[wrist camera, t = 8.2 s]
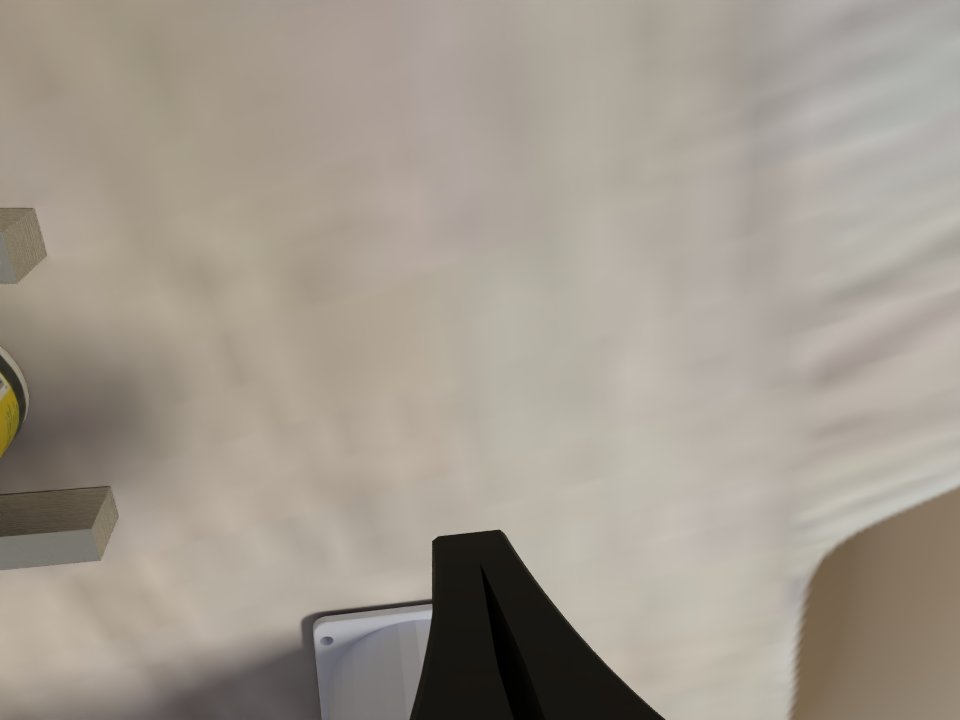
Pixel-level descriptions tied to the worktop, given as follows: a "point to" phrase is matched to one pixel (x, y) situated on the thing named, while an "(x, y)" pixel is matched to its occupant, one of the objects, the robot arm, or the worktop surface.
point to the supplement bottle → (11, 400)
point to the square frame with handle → (55, 514)
